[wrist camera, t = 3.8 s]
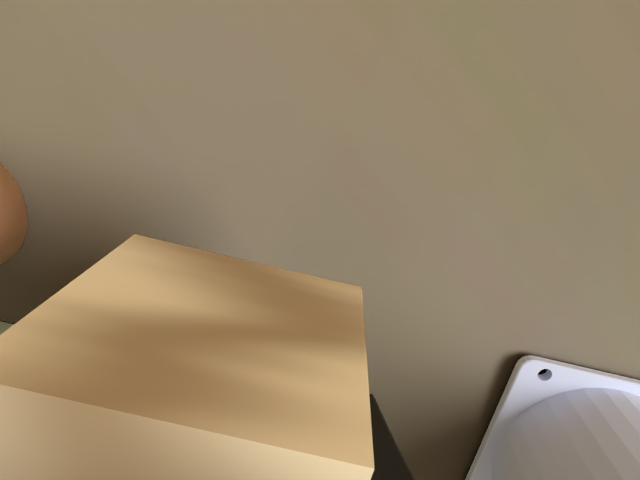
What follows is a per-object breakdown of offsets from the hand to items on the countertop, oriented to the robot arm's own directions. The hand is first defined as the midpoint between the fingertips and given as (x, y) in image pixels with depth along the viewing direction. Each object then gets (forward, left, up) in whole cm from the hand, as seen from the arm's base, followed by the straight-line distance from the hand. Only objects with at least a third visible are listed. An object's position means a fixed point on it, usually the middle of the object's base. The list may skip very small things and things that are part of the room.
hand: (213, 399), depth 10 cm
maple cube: (0, 0, -2) cm, 2 cm away
